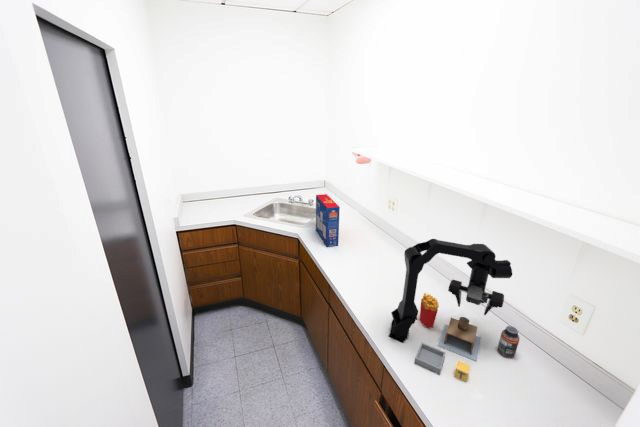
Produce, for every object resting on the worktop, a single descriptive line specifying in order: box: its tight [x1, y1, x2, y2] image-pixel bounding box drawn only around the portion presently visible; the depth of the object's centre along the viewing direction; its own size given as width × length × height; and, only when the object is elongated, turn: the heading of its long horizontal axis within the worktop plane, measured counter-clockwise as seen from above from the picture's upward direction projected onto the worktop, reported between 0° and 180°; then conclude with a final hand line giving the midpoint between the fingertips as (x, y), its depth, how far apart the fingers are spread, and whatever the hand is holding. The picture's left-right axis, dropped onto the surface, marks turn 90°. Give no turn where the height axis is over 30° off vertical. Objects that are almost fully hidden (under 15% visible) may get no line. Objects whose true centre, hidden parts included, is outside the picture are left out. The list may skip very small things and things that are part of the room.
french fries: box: [419, 292, 439, 329], centre depth 127 cm, size 9×4×13 cm, turn 15°
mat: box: [437, 323, 482, 362], centre depth 119 cm, size 14×14×1 cm
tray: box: [413, 342, 447, 375], centre depth 110 cm, size 9×9×2 cm
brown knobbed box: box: [444, 316, 478, 355], centre depth 117 cm, size 10×10×10 cm
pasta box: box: [315, 193, 340, 248], centre depth 203 cm, size 28×8×28 cm, turn 16°
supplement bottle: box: [497, 325, 520, 359], centre depth 112 cm, size 6×6×11 cm
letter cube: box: [453, 360, 471, 383], centre depth 104 cm, size 4×4×4 cm
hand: (471, 310), depth 117 cm, fingers open, 9 cm apart
